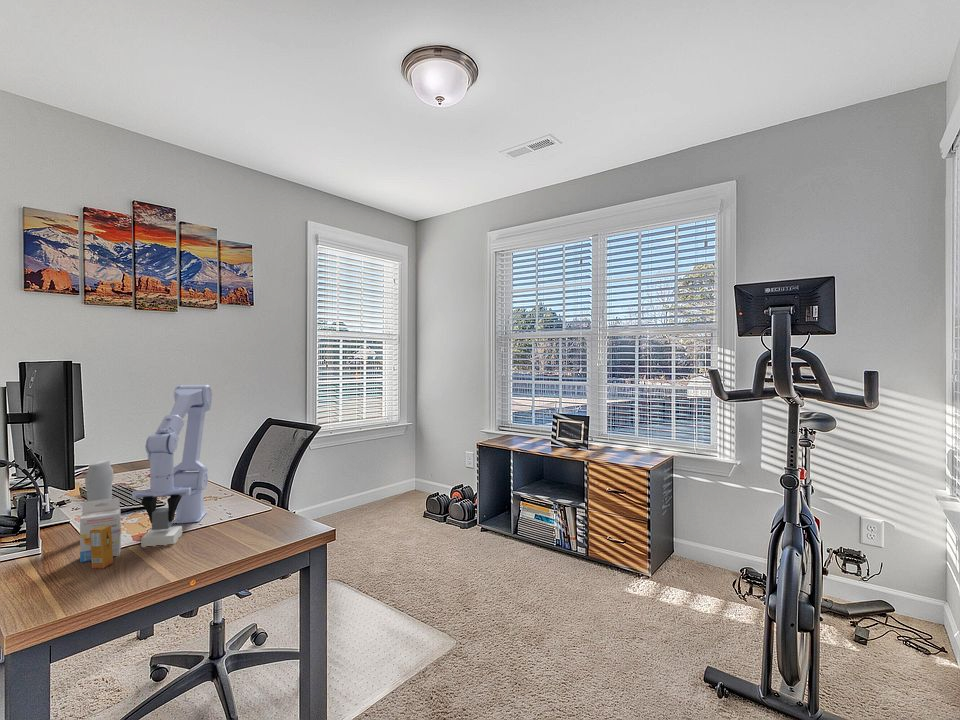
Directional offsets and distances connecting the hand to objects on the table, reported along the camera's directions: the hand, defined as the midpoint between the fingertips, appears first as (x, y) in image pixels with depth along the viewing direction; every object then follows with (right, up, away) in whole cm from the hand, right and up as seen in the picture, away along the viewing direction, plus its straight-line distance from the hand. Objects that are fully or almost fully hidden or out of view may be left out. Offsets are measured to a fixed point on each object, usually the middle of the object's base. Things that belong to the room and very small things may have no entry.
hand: (162, 521), depth 143 cm
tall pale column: (-22, -6, +5) cm, 24 cm away
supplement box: (-5, -6, -17) cm, 18 cm away
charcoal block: (0, -2, 0) cm, 2 cm away
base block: (0, -6, 0) cm, 6 cm away
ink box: (-9, -6, -11) cm, 16 cm away
